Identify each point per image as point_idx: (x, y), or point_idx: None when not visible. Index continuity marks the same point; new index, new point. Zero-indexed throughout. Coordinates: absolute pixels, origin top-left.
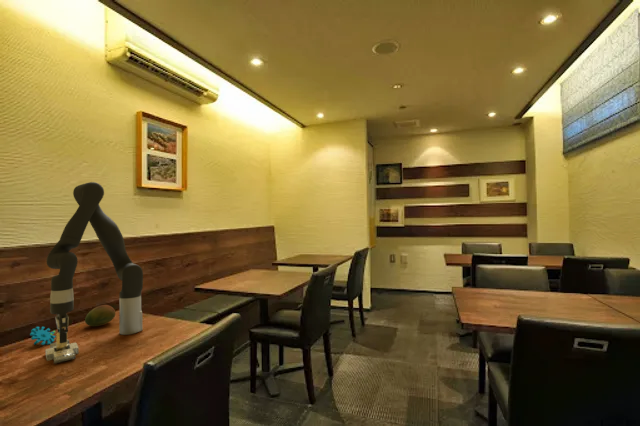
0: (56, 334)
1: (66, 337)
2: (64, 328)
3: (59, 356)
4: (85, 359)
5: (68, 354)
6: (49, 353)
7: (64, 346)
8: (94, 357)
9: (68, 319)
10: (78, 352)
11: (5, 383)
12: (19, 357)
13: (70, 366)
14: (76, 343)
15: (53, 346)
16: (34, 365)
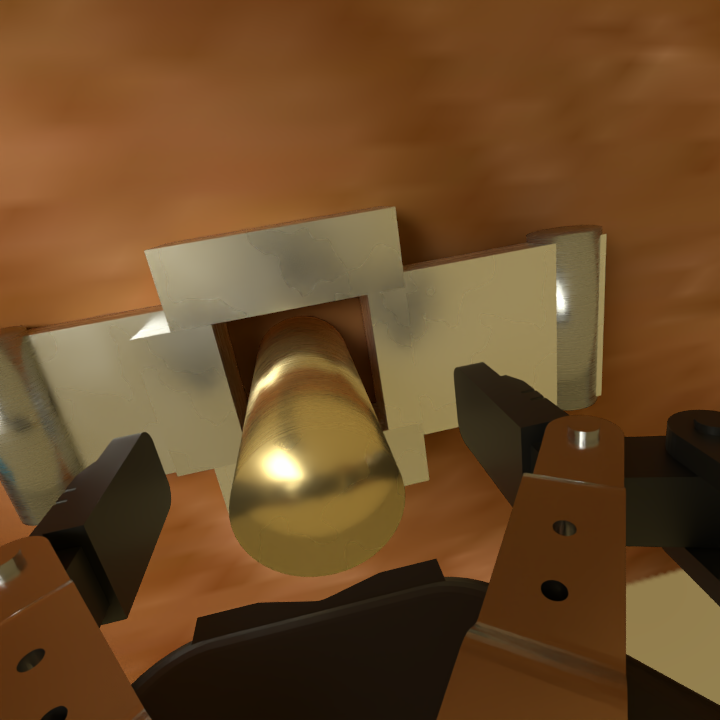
0: (344, 556)
1: (507, 387)
2: (91, 514)
3: (587, 367)
4: (618, 129)
5: (591, 293)
6: (405, 466)
7: (351, 364)
8: (630, 35)
9: (592, 669)
10: (380, 206)
11: (658, 576)
12: (181, 645)
13: (688, 252)
14: (201, 241)
15: (178, 474)
16: (455, 507)
